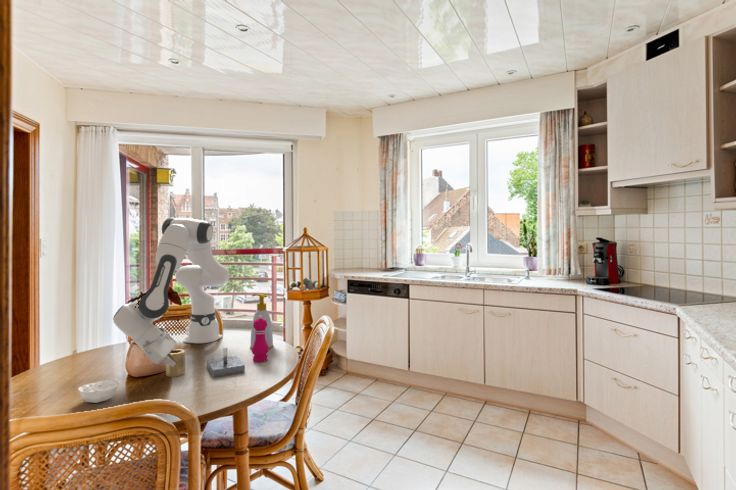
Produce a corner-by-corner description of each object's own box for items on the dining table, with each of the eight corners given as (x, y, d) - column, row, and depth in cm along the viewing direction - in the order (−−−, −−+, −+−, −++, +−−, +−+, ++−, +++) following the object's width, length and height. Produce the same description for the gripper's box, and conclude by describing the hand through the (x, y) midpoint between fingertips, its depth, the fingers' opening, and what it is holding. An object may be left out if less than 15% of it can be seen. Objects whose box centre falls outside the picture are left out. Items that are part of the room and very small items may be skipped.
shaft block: (206, 367, 168) (206, 345, 168) (236, 362, 175) (236, 341, 174) (213, 377, 156) (213, 355, 156) (244, 372, 163) (244, 350, 162)
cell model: (89, 394, 140) (89, 375, 140) (125, 394, 141) (125, 375, 140) (70, 407, 130) (69, 387, 130) (108, 407, 130) (108, 386, 130)
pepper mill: (264, 363, 174) (264, 317, 173) (248, 362, 175) (248, 316, 174) (271, 358, 181) (271, 313, 180) (256, 356, 182) (256, 313, 182)
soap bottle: (261, 343, 204) (261, 291, 203) (278, 346, 198) (278, 293, 197) (244, 348, 195) (244, 294, 194) (261, 352, 189) (261, 297, 188)
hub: (169, 371, 163) (169, 349, 162) (186, 370, 164) (186, 348, 164) (164, 377, 156) (164, 354, 156) (182, 376, 158) (182, 353, 157)
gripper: (147, 339, 148) (176, 364, 150) (163, 326, 168) (189, 348, 170) (134, 352, 147) (163, 377, 150) (152, 337, 167) (177, 359, 170)
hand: (177, 361), depth 160 cm, fingers closed on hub, 6 cm apart
